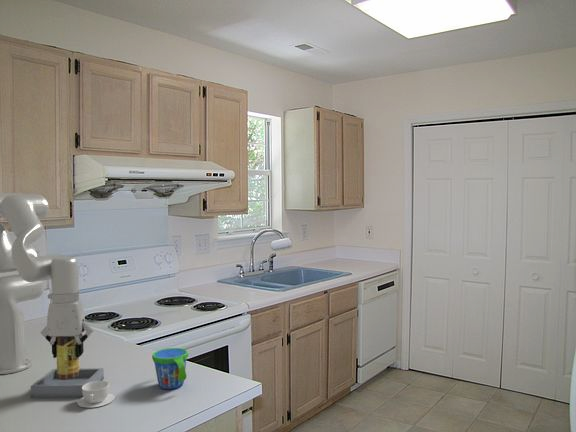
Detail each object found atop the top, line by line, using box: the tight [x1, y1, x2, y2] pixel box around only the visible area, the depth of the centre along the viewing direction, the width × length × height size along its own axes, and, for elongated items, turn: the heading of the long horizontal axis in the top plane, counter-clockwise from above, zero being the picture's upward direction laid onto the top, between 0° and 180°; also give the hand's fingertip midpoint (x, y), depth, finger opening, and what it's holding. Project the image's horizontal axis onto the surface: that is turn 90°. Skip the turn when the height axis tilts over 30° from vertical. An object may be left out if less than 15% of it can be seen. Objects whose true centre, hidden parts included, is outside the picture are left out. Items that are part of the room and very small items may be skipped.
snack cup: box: [151, 347, 189, 390], centre depth 153 cm, size 16×10×10 cm
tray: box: [30, 367, 105, 399], centre depth 152 cm, size 16×14×4 cm
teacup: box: [77, 380, 115, 409], centre depth 142 cm, size 10×10×5 cm
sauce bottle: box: [56, 336, 80, 380], centre depth 152 cm, size 7×6×20 cm
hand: (68, 355), depth 152 cm, fingers closed on sauce bottle, 6 cm apart
